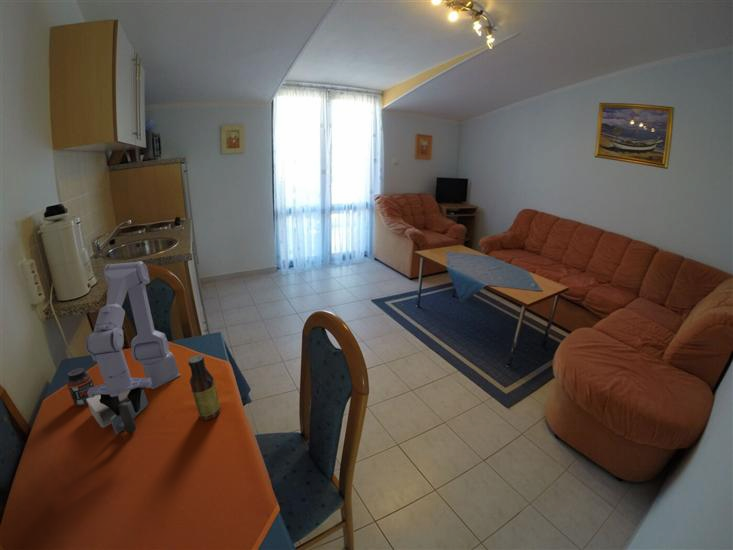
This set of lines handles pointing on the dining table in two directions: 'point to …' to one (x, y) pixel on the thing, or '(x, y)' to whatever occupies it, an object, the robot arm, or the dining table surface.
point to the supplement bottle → (79, 386)
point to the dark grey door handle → (127, 415)
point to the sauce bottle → (203, 389)
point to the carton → (104, 408)
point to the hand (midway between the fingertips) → (128, 411)
